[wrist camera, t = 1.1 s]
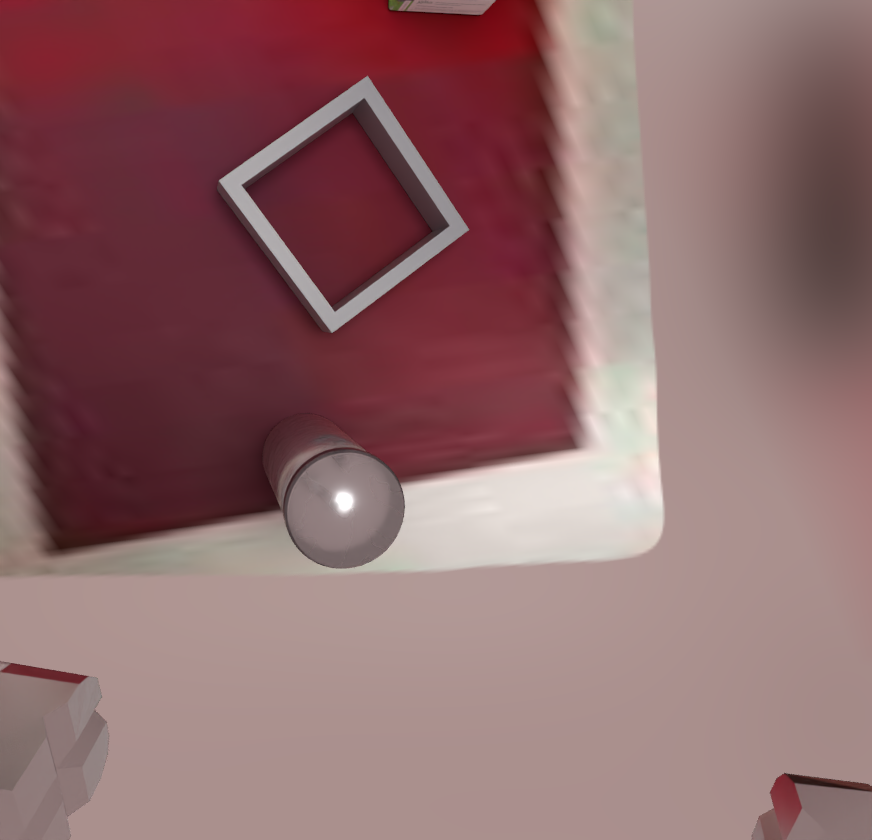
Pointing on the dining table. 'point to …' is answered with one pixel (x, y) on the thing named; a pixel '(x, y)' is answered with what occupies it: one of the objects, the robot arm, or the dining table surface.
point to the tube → (332, 492)
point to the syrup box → (442, 6)
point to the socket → (402, 164)
